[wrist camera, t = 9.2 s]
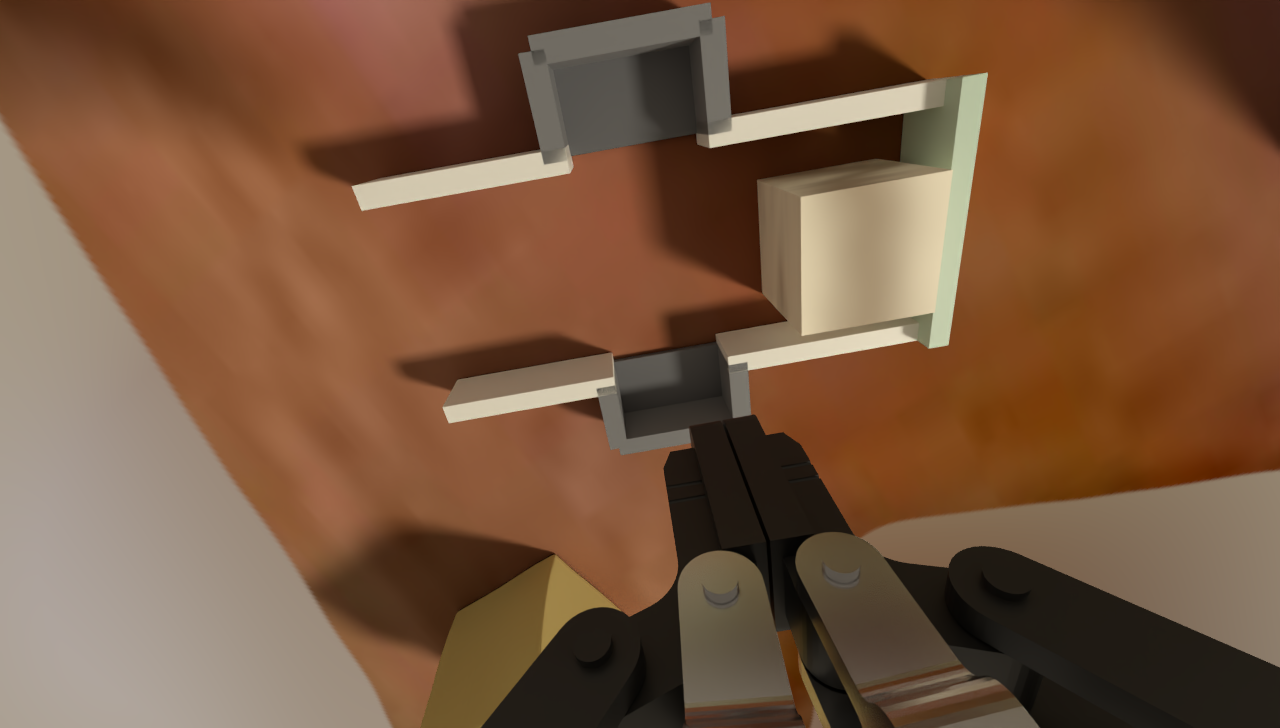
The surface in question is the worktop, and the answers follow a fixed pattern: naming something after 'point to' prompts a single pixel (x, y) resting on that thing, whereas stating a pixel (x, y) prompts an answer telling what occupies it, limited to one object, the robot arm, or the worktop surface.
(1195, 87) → the worktop surface
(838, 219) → the birch block
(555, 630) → the cheese
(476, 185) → the trap box
